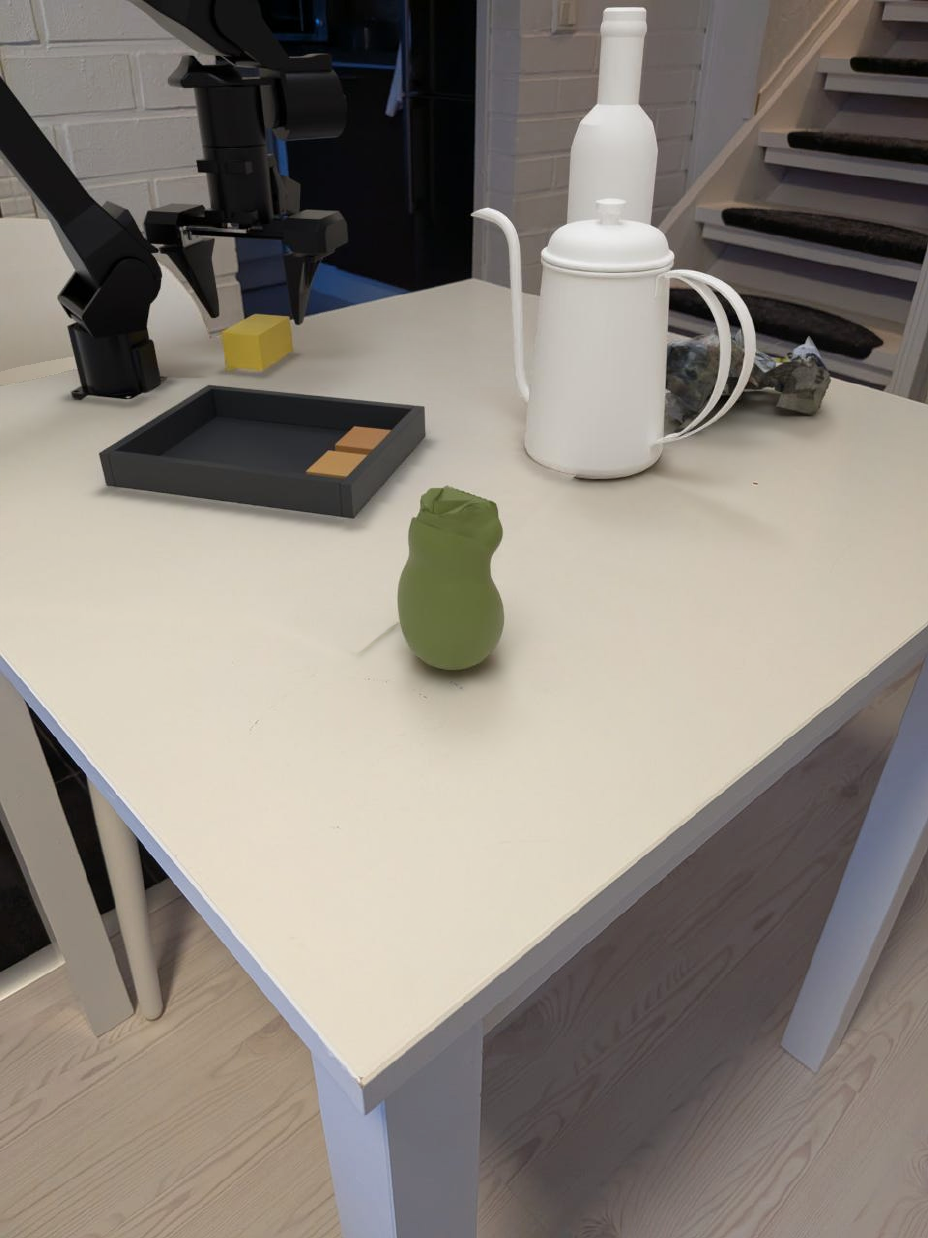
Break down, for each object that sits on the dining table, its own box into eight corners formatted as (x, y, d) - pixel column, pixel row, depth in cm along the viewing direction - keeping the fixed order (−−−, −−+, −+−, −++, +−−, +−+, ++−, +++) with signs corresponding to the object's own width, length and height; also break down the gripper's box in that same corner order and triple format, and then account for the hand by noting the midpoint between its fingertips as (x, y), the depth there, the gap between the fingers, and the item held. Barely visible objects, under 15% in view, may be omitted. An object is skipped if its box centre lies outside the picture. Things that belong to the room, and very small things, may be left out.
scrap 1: (307, 490, 66) (305, 470, 65) (330, 468, 69) (328, 450, 69) (359, 496, 65) (357, 477, 64) (379, 474, 68) (378, 455, 68)
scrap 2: (336, 462, 70) (334, 444, 70) (355, 443, 74) (354, 425, 73) (384, 468, 69) (383, 450, 69) (402, 448, 73) (401, 430, 72)
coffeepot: (511, 400, 84) (517, 173, 73) (763, 476, 69) (813, 207, 59) (428, 433, 77) (421, 189, 67) (687, 524, 63) (729, 231, 52)
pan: (107, 492, 67) (98, 452, 66) (213, 418, 80) (208, 384, 78) (353, 525, 63) (350, 484, 61) (425, 442, 75) (424, 406, 74)
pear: (381, 662, 49) (370, 493, 44) (445, 620, 53) (442, 459, 47) (461, 703, 46) (460, 527, 41) (523, 656, 50) (530, 488, 44)
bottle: (560, 351, 96) (579, 8, 80) (636, 354, 95) (670, 7, 79) (556, 375, 89) (575, 6, 73) (637, 378, 88) (675, 6, 72)
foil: (864, 401, 73) (720, 293, 70) (768, 498, 79) (631, 402, 76) (836, 351, 83) (707, 254, 79) (751, 441, 89) (629, 354, 85)
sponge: (226, 372, 91) (220, 331, 89) (259, 352, 96) (254, 313, 94) (263, 375, 90) (257, 334, 88) (293, 355, 95) (289, 316, 93)
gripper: (364, 137, 86) (373, 306, 95) (189, 133, 91) (213, 294, 99) (315, 151, 77) (331, 336, 86) (124, 145, 82) (157, 321, 90)
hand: (256, 320), depth 91 cm, fingers open, 9 cm apart
